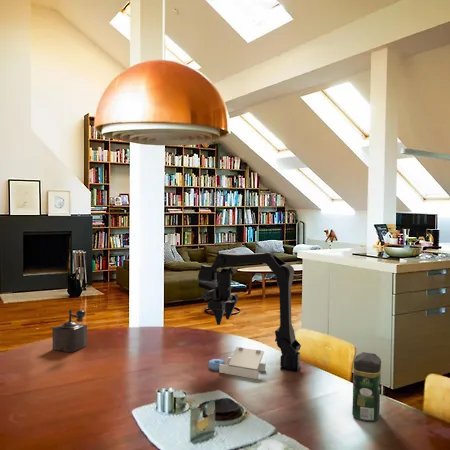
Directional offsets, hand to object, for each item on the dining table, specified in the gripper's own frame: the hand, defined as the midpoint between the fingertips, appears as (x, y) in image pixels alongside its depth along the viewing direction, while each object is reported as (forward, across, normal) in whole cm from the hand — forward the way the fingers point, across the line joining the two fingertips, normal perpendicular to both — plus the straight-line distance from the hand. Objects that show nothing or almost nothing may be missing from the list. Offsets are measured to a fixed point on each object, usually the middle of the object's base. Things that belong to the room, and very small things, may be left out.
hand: (223, 322), depth 194 cm
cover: (+9, +11, +14) cm, 21 cm away
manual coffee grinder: (+15, +17, -61) cm, 65 cm away
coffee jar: (+15, +29, +59) cm, 68 cm away
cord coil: (+15, +11, +2) cm, 19 cm away
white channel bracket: (+15, +11, +13) cm, 22 cm away
